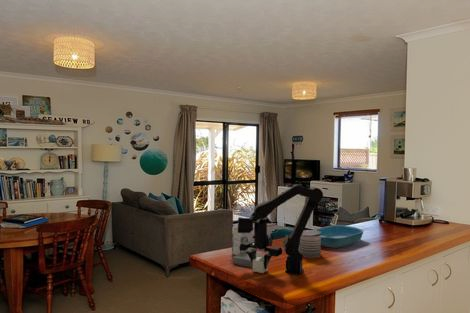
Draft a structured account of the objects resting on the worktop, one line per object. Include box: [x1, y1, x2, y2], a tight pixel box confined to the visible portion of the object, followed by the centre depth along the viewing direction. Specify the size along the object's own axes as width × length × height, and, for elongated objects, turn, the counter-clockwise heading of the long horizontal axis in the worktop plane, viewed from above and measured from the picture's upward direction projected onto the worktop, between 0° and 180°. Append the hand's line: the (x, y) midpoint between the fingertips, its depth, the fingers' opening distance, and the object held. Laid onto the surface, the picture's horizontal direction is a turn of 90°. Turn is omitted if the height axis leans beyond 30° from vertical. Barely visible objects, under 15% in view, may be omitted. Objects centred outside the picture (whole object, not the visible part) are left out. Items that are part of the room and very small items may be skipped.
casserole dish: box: [313, 224, 364, 249], centre depth 211 cm, size 37×22×7 cm, turn 131°
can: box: [298, 229, 322, 259], centre depth 184 cm, size 11×11×12 cm
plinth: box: [232, 251, 265, 268], centre depth 170 cm, size 12×12×3 cm
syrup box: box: [231, 225, 248, 256], centre depth 184 cm, size 6×6×14 cm
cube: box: [252, 257, 269, 274], centre depth 158 cm, size 5×5×5 cm
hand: (260, 268), depth 158 cm, fingers closed on cube, 5 cm apart
